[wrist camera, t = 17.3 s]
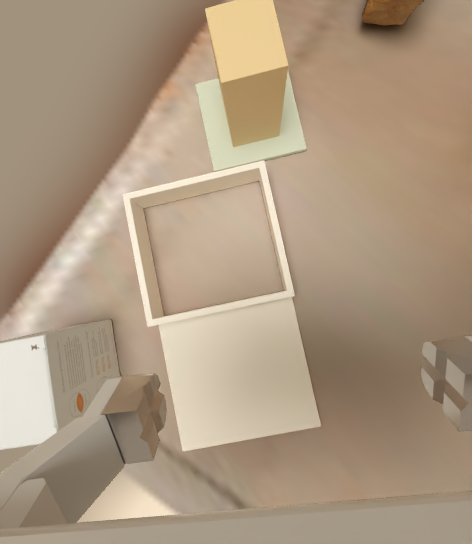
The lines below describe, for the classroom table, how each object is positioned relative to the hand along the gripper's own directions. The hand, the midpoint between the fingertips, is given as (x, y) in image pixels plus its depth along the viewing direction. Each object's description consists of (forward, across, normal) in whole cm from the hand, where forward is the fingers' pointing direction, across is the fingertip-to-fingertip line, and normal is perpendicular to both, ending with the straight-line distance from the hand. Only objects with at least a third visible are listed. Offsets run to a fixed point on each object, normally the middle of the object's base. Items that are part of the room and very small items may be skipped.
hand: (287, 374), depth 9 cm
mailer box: (+21, +4, +8) cm, 22 cm away
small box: (+19, +19, +11) cm, 29 cm away
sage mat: (+29, -1, -11) cm, 31 cm away
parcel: (+28, -1, -11) cm, 30 cm away
